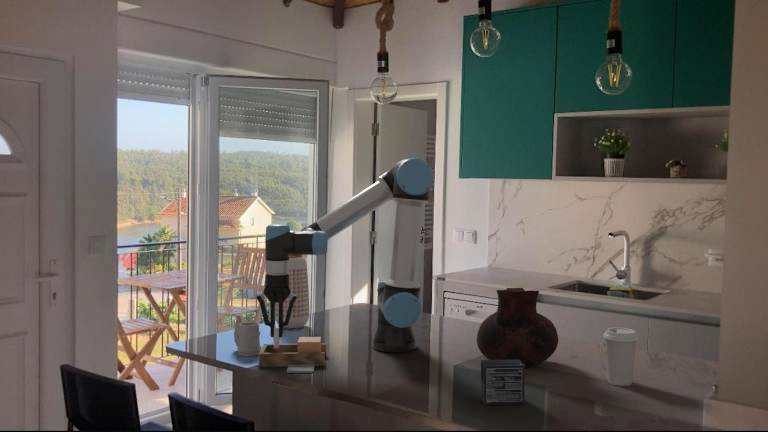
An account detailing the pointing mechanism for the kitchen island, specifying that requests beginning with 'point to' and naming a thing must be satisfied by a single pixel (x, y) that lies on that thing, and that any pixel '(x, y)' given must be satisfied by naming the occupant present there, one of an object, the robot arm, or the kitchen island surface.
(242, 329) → the mug
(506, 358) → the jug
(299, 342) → the block
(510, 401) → the small box
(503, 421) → the kitchen island surface
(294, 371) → the mat
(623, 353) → the coffee cup
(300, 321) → the patterned vase
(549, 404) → the kitchen island surface
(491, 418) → the kitchen island surface
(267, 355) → the wooden tray
